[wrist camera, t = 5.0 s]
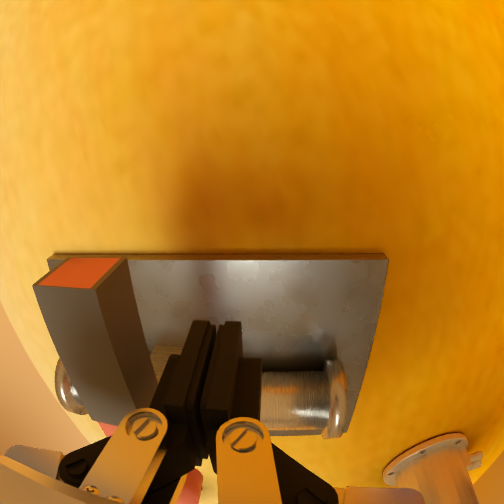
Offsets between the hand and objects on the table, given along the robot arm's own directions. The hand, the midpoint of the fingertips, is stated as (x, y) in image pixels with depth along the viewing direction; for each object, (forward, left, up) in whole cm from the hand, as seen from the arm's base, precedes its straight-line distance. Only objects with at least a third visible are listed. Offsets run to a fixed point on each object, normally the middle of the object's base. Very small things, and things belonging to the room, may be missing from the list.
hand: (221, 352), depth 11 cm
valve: (+3, +9, -9) cm, 13 cm away
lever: (+4, +4, 0) cm, 5 cm away
